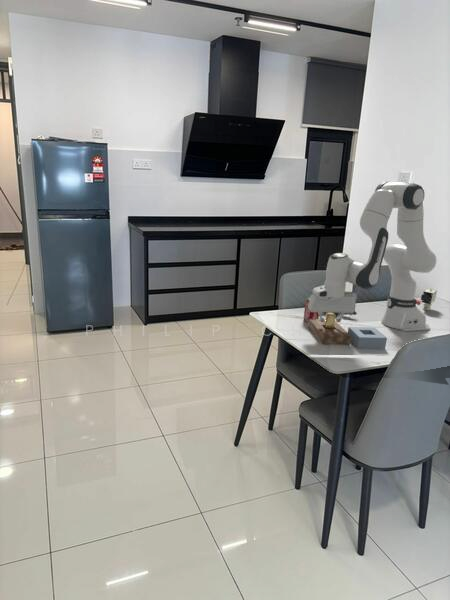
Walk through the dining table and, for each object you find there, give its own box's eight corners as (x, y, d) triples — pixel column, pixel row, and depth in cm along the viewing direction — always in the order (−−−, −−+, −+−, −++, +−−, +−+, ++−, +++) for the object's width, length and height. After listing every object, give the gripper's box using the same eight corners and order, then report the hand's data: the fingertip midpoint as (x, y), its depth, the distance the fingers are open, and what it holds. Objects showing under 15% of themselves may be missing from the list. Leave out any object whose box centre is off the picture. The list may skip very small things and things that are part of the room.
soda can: (318, 326, 208) (321, 301, 205) (302, 324, 210) (305, 300, 206) (318, 321, 215) (321, 297, 212) (303, 319, 216) (306, 296, 213)
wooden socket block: (332, 329, 205) (334, 319, 203) (349, 346, 186) (350, 335, 184) (307, 329, 203) (309, 319, 202) (321, 346, 184) (323, 335, 183)
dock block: (372, 340, 195) (374, 327, 193) (384, 351, 184) (387, 337, 182) (346, 339, 194) (348, 326, 192) (357, 350, 182) (359, 337, 181)
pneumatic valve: (433, 308, 249) (437, 288, 245) (428, 312, 240) (432, 291, 237) (423, 306, 252) (427, 286, 249) (417, 310, 243) (421, 289, 240)
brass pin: (330, 333, 196) (333, 312, 194) (333, 337, 193) (336, 315, 190) (322, 333, 196) (324, 312, 193) (325, 337, 192) (328, 315, 189)
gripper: (354, 289, 193) (349, 319, 197) (309, 288, 190) (305, 318, 194) (360, 293, 187) (355, 324, 191) (313, 292, 184) (309, 323, 188)
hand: (329, 321), depth 192 cm, fingers open, 6 cm apart
